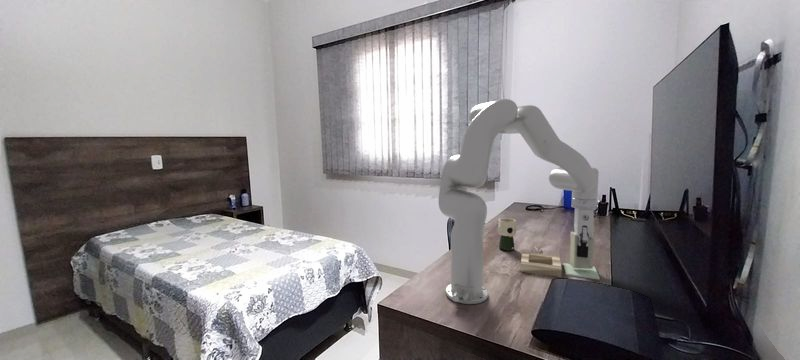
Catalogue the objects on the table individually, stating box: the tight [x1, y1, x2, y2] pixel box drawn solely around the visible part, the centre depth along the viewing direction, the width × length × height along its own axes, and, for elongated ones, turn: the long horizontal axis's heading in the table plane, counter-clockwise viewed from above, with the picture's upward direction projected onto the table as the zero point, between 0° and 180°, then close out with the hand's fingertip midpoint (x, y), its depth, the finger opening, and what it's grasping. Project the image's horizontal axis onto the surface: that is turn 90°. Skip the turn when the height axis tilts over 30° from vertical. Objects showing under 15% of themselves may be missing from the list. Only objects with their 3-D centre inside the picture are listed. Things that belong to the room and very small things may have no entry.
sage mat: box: [563, 262, 601, 281], centre depth 110 cm, size 10×10×1 cm
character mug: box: [497, 217, 517, 251], centre depth 133 cm, size 11×7×13 cm, turn 122°
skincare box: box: [568, 231, 595, 269], centre depth 109 cm, size 6×4×12 cm
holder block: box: [520, 251, 563, 278], centre depth 114 cm, size 13×13×3 cm
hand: (581, 253), depth 109 cm, fingers closed on skincare box, 5 cm apart
